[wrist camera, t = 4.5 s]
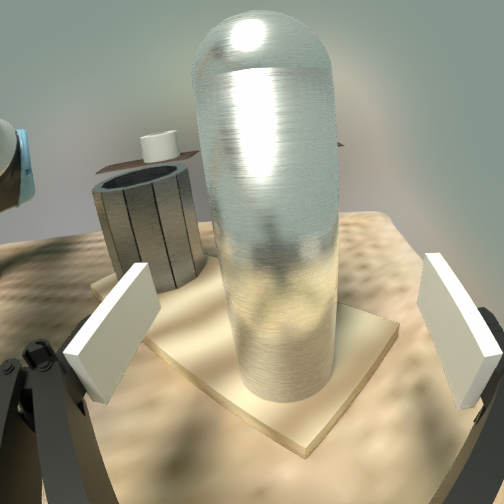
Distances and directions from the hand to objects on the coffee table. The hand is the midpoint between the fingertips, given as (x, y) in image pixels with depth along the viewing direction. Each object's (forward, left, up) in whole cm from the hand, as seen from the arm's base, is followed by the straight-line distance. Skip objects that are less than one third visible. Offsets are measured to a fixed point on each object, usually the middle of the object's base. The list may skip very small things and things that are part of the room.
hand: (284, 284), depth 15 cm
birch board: (-12, +4, -10) cm, 16 cm away
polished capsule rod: (-3, +3, -9) cm, 10 cm away
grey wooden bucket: (-22, +5, -9) cm, 24 cm away
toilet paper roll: (-110, +60, -11) cm, 125 cm away
